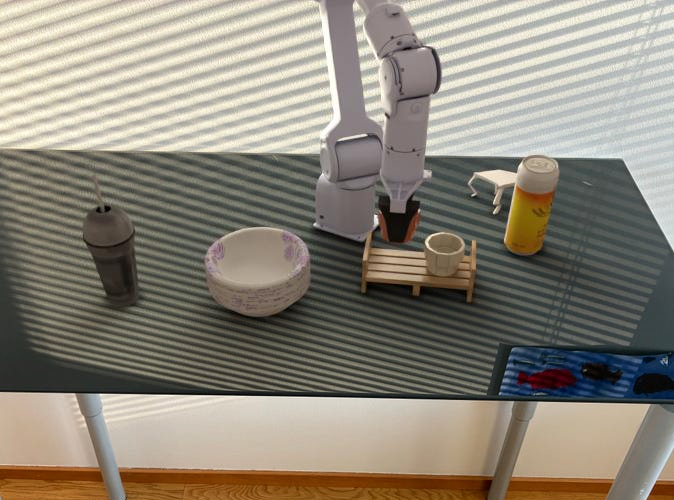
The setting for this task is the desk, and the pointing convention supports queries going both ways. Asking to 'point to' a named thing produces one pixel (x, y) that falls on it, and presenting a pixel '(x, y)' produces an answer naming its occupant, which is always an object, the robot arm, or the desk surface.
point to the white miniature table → (495, 183)
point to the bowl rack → (414, 269)
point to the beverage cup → (112, 250)
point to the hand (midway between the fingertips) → (398, 229)
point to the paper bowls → (258, 270)
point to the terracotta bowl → (411, 229)
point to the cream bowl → (443, 253)
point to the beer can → (531, 204)
